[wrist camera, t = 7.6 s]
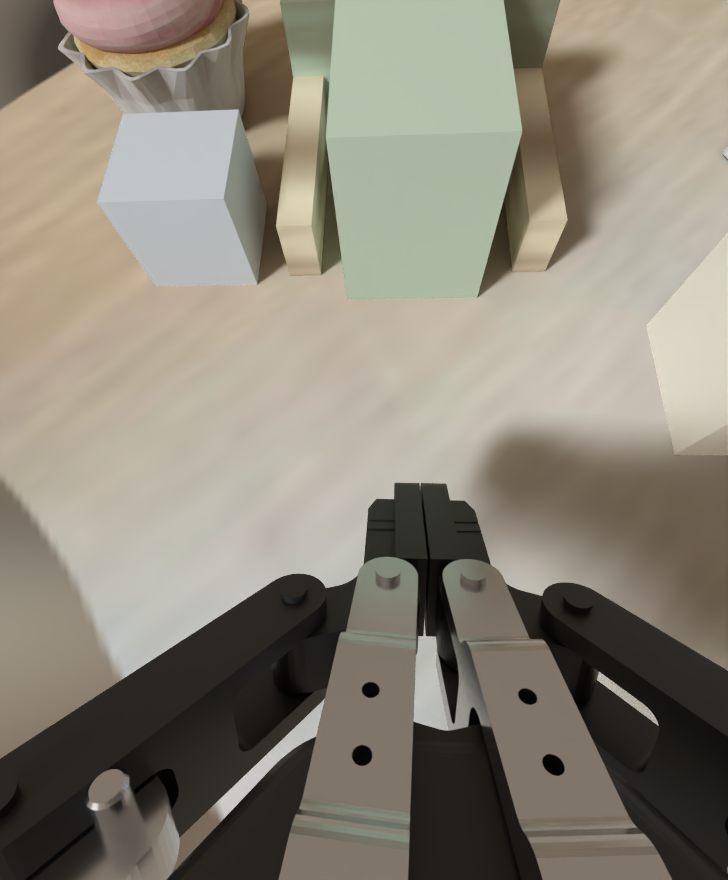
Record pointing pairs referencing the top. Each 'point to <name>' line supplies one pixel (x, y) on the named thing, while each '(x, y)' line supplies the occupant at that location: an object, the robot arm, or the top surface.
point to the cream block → (695, 358)
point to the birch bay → (306, 157)
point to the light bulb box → (726, 152)
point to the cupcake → (160, 51)
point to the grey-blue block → (187, 197)
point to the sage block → (419, 143)
